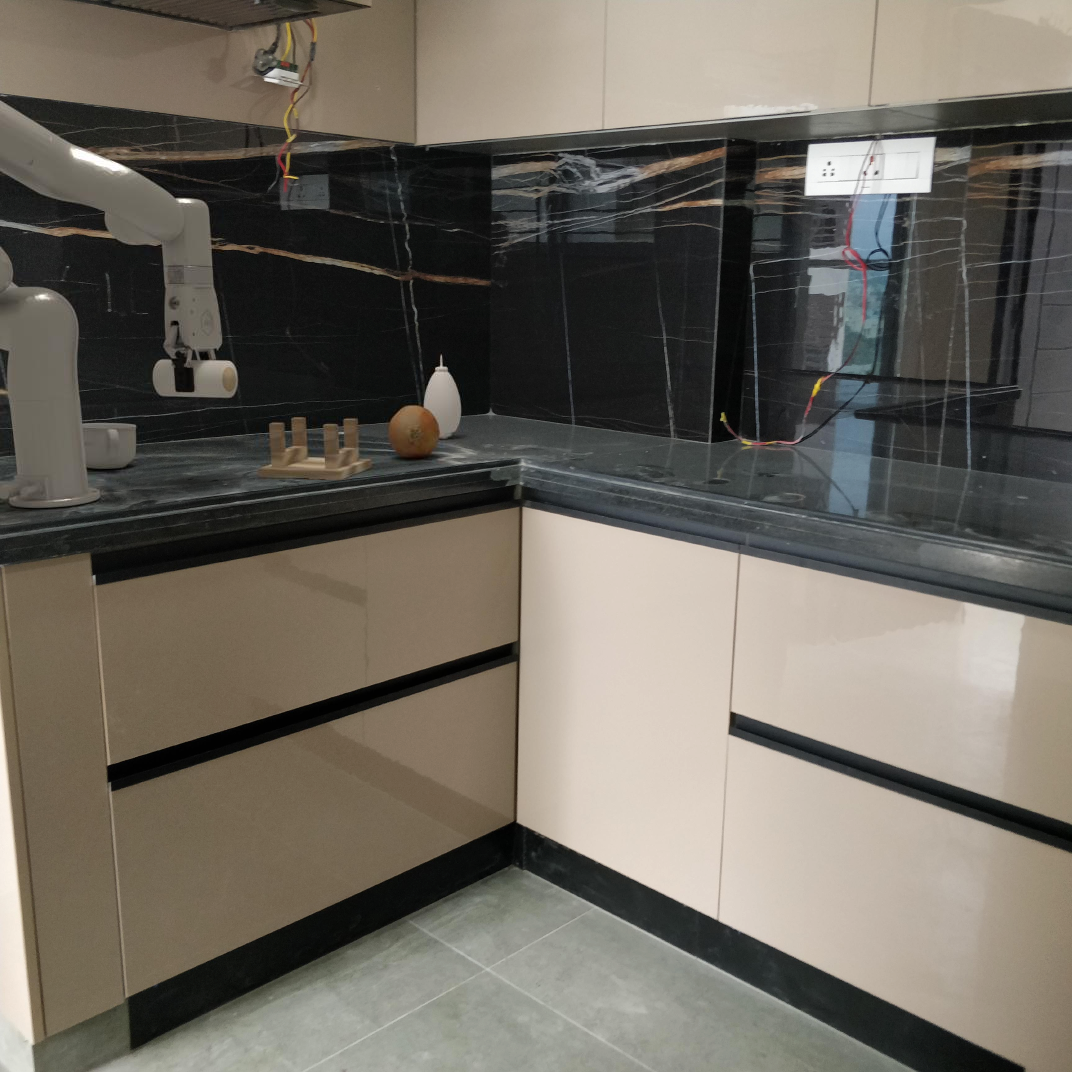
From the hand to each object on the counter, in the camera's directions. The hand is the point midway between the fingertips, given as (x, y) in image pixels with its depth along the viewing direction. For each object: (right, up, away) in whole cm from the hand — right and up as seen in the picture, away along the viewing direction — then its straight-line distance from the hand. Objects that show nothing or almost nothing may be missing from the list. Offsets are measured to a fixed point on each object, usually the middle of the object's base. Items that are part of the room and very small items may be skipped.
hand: (196, 389), depth 176 cm
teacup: (-21, -12, +17) cm, 30 cm away
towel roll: (0, +2, 0) cm, 2 cm away
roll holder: (+18, -13, +11) cm, 25 cm away
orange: (+33, -10, +28) cm, 44 cm away
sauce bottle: (+36, -3, +56) cm, 67 cm away
